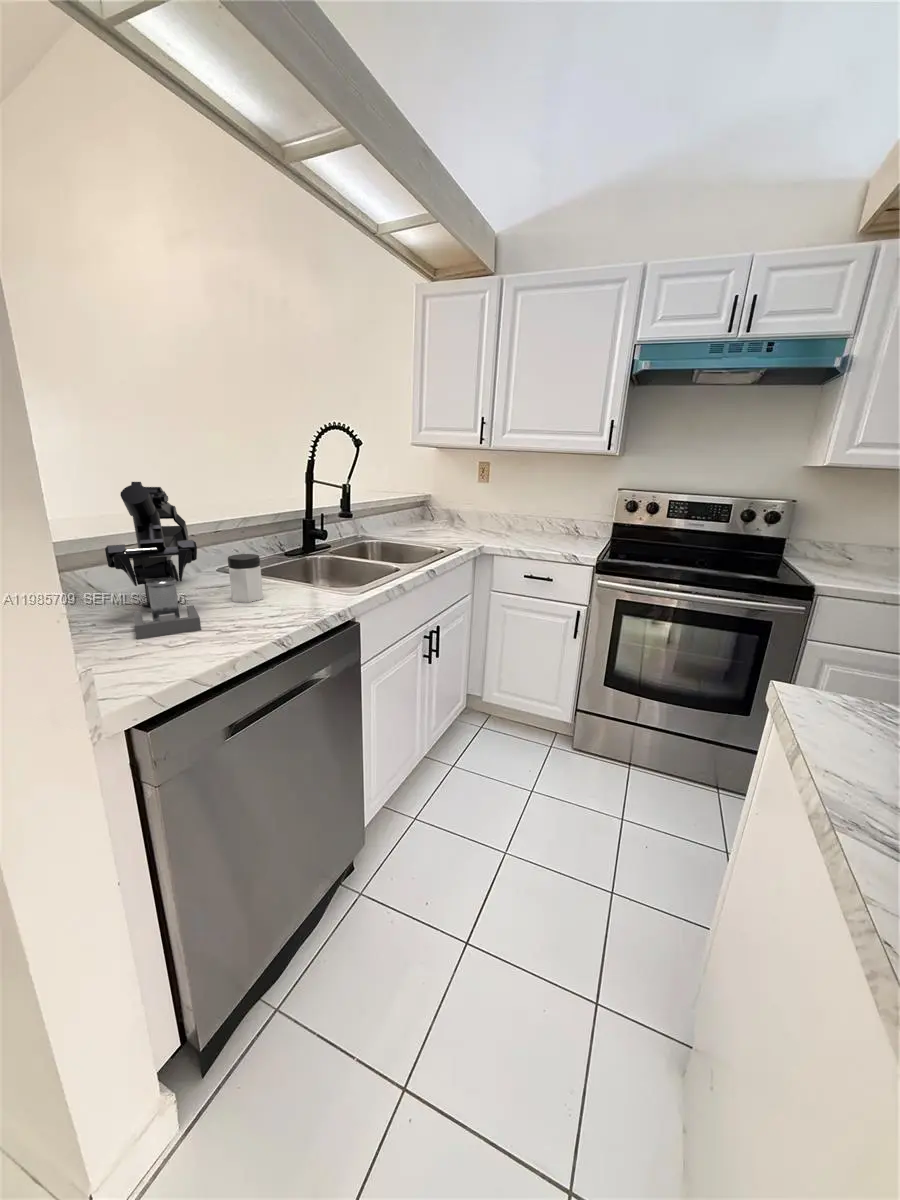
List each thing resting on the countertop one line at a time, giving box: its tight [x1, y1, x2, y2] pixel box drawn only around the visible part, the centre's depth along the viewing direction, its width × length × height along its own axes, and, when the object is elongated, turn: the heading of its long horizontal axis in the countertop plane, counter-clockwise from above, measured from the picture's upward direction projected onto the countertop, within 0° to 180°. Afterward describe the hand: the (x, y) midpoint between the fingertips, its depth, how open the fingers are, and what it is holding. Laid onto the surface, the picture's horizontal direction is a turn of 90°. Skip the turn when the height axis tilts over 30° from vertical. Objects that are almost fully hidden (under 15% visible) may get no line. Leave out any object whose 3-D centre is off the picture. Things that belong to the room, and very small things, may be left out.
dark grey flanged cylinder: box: [146, 578, 181, 622], centre depth 114 cm, size 6×6×11 cm
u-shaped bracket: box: [133, 604, 202, 640], centre depth 114 cm, size 11×13×4 cm
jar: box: [227, 553, 264, 603], centre depth 137 cm, size 9×8×12 cm
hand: (158, 582), depth 116 cm, fingers open, 9 cm apart
